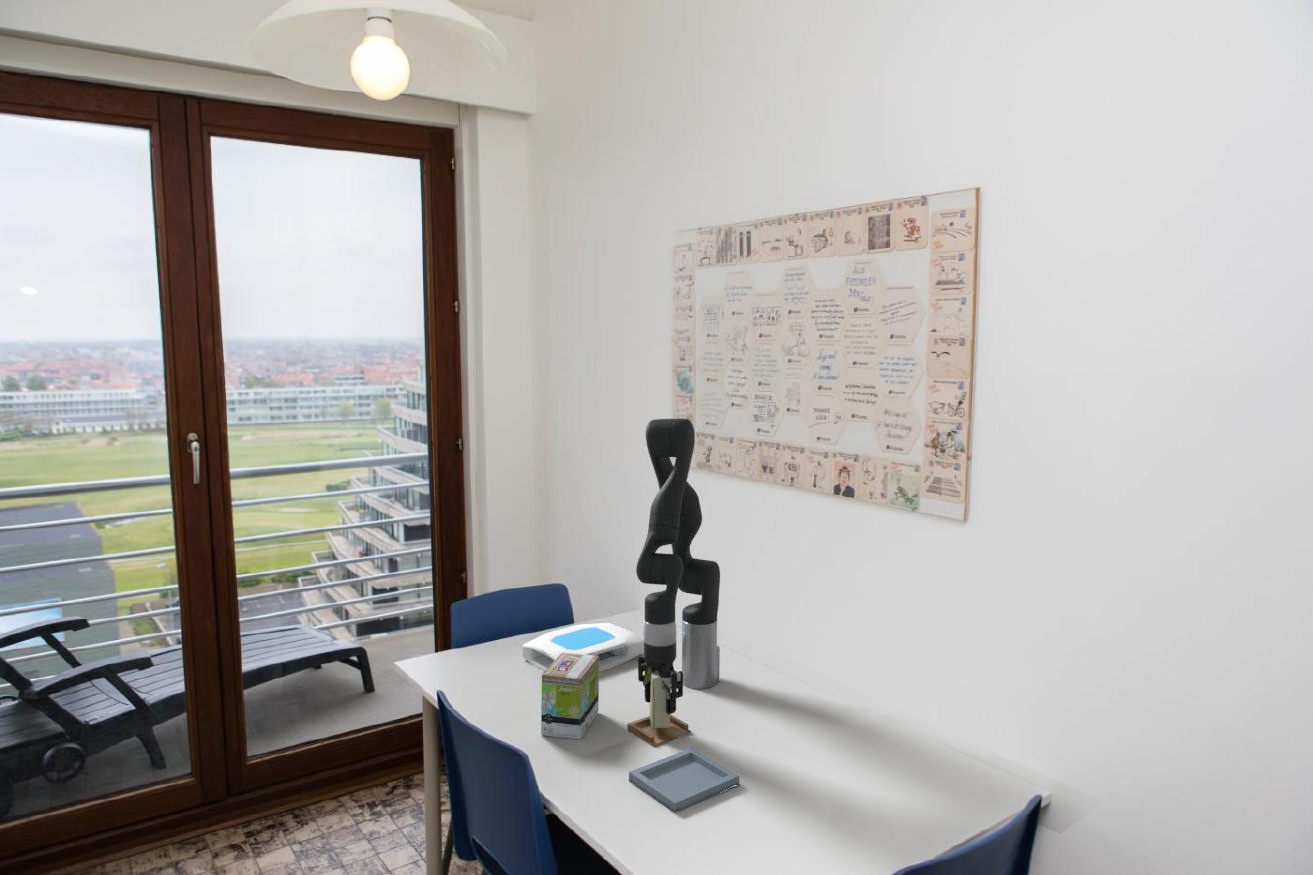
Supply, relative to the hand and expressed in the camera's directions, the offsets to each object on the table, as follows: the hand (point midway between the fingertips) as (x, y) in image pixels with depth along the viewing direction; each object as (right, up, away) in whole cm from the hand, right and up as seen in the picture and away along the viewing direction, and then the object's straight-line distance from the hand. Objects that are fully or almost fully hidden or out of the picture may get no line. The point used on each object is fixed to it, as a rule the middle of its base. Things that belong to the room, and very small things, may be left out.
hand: (660, 707), depth 196 cm
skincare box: (0, -4, 0) cm, 4 cm away
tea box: (-21, -6, +5) cm, 22 cm away
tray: (+5, -9, -22) cm, 24 cm away
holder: (0, -6, +1) cm, 6 cm away
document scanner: (-22, -1, +46) cm, 51 cm away
